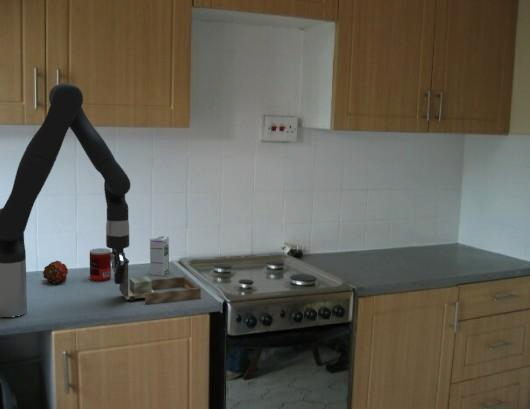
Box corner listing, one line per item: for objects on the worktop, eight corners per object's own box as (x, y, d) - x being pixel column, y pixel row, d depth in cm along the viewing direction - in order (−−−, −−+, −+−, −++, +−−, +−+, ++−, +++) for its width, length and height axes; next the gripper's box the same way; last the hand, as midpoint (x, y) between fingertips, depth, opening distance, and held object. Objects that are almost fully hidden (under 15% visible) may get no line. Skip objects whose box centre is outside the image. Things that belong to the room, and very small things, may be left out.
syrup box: (164, 276, 249) (164, 239, 246) (149, 274, 250) (149, 238, 248) (169, 272, 254) (169, 236, 252) (155, 271, 255) (155, 235, 253)
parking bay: (146, 305, 212) (146, 294, 211) (133, 292, 227) (133, 281, 226) (200, 299, 221) (200, 288, 220) (184, 286, 235) (184, 276, 234)
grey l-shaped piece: (125, 303, 213) (124, 259, 210) (118, 295, 220) (118, 253, 218) (156, 299, 217) (156, 257, 215) (148, 292, 225) (148, 251, 223)
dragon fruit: (54, 291, 230) (53, 286, 241) (73, 276, 232) (72, 272, 244) (38, 272, 228) (39, 269, 240) (58, 257, 230) (58, 254, 242)
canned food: (112, 276, 246) (112, 248, 244) (108, 282, 238) (108, 253, 236) (92, 275, 246) (92, 247, 244) (87, 281, 238) (87, 252, 236)
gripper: (101, 229, 217) (102, 279, 219) (110, 237, 205) (111, 289, 208) (124, 228, 220) (124, 277, 223) (134, 236, 208) (134, 287, 211)
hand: (118, 283), depth 215 cm, fingers closed
